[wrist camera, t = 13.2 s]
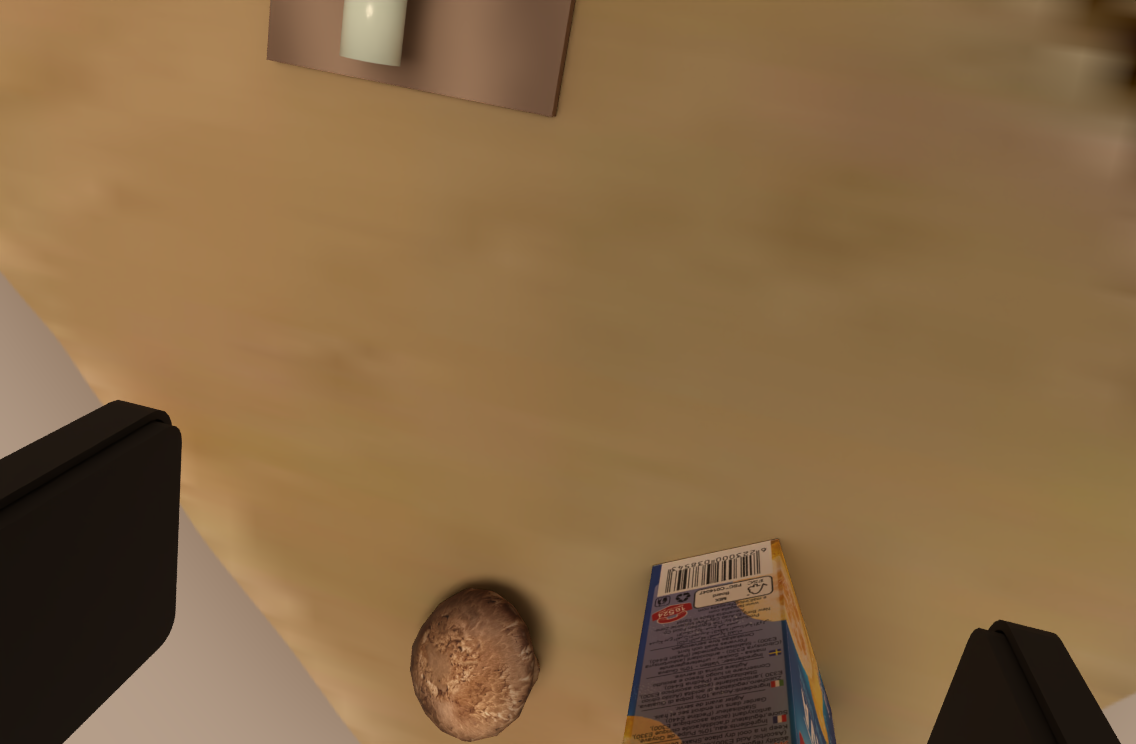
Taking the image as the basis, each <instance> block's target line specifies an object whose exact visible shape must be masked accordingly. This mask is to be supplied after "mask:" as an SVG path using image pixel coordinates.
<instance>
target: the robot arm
mask: <svg viewBox="0 0 1136 744" xmlns="http://www.w3.org/2000/svg"><path fill="white" fill-rule="evenodd" d="M181 449H182V438H181V433H180V430H179V429H178V428H177V427H176V426H172V423H171V420H170V417H169V415H168V414H167V413H166V412H165V411H161V410H157V409H153V408H149V407H145V406H141V405H137V404H133V403H129V402H125V401H121V400H116V401H113V402H110V403H108V404H106V405H104V406H102V407H101V408H98V409H96V410H95V411H93V412H91V413H89V414H87V415H85V416H83V417H81V418H79V419H77V420H75V421H73V422H71V423H70V424H68V425H66V426H64V427H62V428H60V429H58V430H56V431H55V432H52V433H50V434H48V435H47V436H45V437H43V438H41V439H39V440H37V441H35V442H33V443H31V444H29V445H27V446H26V447H23V448H21V449H19V450H18V451H16V452H14V453H12V454H10V455H8V456H6V457H4V458H2V459H0V744H63V743H64V741H66V740H67V739H68V738H69V737H70V736H71V735H72V734H73V733H74V731H76V729H78V728H79V727H80V726H81V725H82V724H83V723H84V722H85V721H86V720H87V719H88V718H89V717H90V716H91V715H92V714H93V713H94V712H95V711H96V710H97V709H98V708H99V707H100V706H101V705H102V704H103V703H104V702H105V701H106V700H107V699H108V698H109V697H110V696H111V695H112V694H113V693H114V692H115V691H116V690H117V689H118V688H119V687H120V686H121V685H122V684H123V683H124V682H125V681H126V680H127V679H128V678H129V677H130V676H131V675H132V674H133V673H134V672H135V671H136V670H137V669H138V668H139V667H140V666H141V665H142V664H143V663H144V662H145V661H146V660H147V659H148V658H149V657H150V656H151V655H152V654H154V653H155V651H157V650H158V649H159V648H160V646H161V645H162V644H163V643H164V642H165V640H166V639H167V637H168V635H169V633H170V631H171V629H172V626H173V623H174V618H175V609H176V607H175V606H176V582H177V556H178V555H177V554H178V529H179V502H180V475H181ZM927 744H1121V743H1120V742H1119V740H1118V738H1117V736H1116V735H1115V733H1114V731H1113V730H1112V728H1111V726H1110V724H1109V722H1108V721H1107V719H1106V717H1105V716H1104V714H1103V712H1102V710H1101V709H1100V707H1099V705H1098V703H1097V702H1096V700H1095V698H1094V696H1093V695H1092V693H1091V691H1090V690H1089V688H1088V686H1087V684H1086V683H1085V681H1084V679H1083V677H1082V676H1081V674H1080V672H1079V670H1078V669H1077V667H1076V665H1075V664H1074V662H1073V660H1072V658H1071V657H1070V655H1069V653H1068V651H1067V650H1066V648H1065V646H1064V644H1063V643H1062V641H1061V639H1060V638H1059V637H1058V636H1057V635H1056V634H1054V633H1051V632H1047V631H1043V630H1039V629H1035V628H1031V627H1027V626H1023V625H1019V624H1015V623H1011V622H1007V621H1003V620H998V621H996V622H994V623H993V625H992V626H991V627H990V628H989V630H985V629H981V628H978V629H975V630H974V631H973V633H972V634H971V636H970V638H969V640H968V642H967V644H966V647H965V649H964V652H963V655H962V657H961V660H960V662H959V665H958V667H957V670H956V672H955V675H954V677H953V680H952V682H951V685H950V687H949V690H948V692H947V695H946V697H945V700H944V702H943V705H942V708H941V710H940V713H939V715H938V718H937V720H936V723H935V725H934V728H933V730H932V733H931V735H930V738H929V740H928V743H927Z"/></svg>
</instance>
